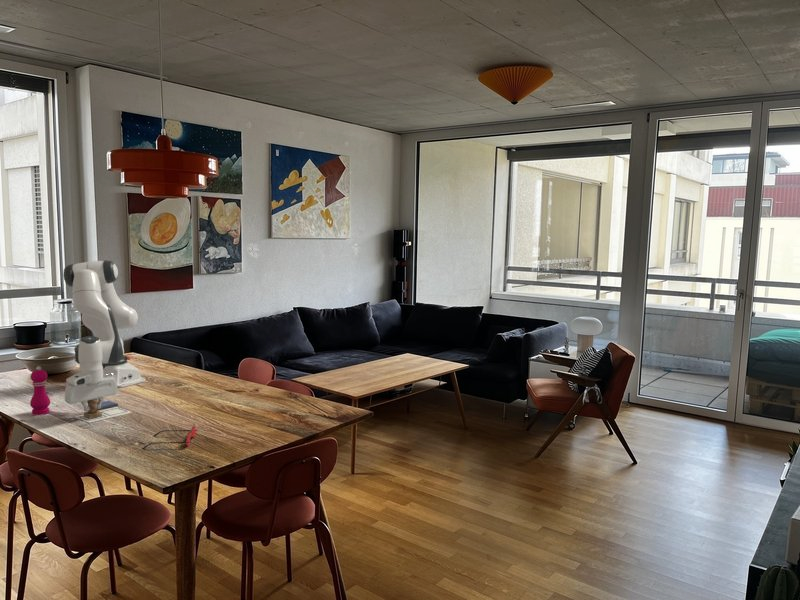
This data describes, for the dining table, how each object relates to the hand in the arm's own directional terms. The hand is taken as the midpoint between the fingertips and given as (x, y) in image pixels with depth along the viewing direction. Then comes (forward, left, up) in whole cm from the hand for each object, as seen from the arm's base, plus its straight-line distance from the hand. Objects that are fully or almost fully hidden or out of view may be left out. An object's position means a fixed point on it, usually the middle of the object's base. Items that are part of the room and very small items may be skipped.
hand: (92, 409), depth 248 cm
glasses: (-3, +49, -4) cm, 50 cm away
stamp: (0, 0, -3) cm, 3 cm away
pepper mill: (+11, -22, -4) cm, 25 cm away
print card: (-4, 0, -3) cm, 6 cm away
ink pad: (-10, -11, -3) cm, 16 cm away
